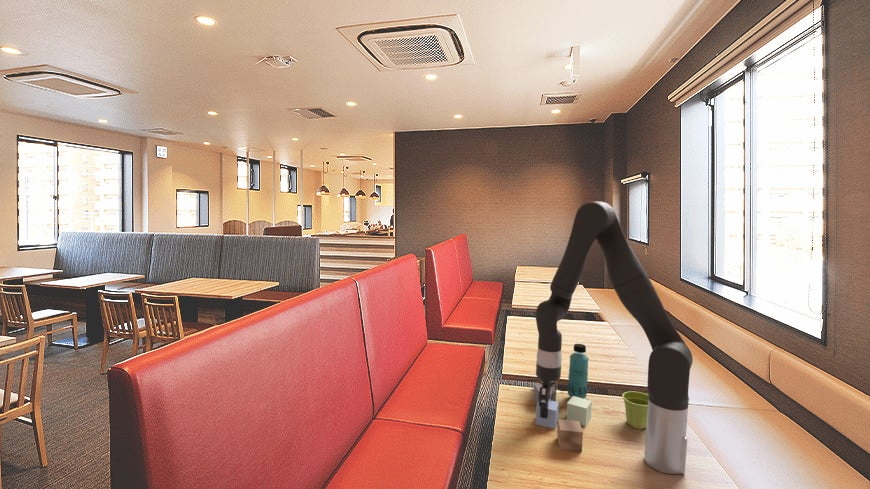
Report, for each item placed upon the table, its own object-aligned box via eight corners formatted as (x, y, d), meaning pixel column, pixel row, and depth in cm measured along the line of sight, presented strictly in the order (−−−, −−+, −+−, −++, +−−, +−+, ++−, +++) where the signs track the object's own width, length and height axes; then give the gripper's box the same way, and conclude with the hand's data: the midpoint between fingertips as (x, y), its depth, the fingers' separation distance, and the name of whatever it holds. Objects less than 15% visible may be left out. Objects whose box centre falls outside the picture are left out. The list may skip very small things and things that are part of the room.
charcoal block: (550, 399, 147) (551, 383, 146) (555, 408, 141) (556, 391, 140) (533, 399, 147) (534, 383, 146) (537, 407, 141) (538, 391, 140)
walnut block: (578, 440, 122) (579, 421, 121) (581, 452, 116) (582, 432, 115) (557, 438, 123) (557, 419, 122) (559, 450, 117) (560, 430, 116)
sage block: (590, 418, 134) (591, 401, 133) (585, 426, 129) (586, 408, 129) (572, 413, 138) (572, 395, 137) (566, 420, 133) (567, 403, 132)
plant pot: (653, 435, 124) (655, 408, 124) (619, 427, 129) (621, 400, 128) (654, 421, 133) (655, 395, 132) (621, 414, 137) (623, 388, 136)
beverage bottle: (565, 394, 150) (568, 341, 148) (584, 395, 150) (587, 342, 148) (569, 403, 144) (571, 347, 142) (588, 404, 143) (591, 348, 141)
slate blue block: (558, 419, 133) (558, 402, 133) (555, 429, 128) (555, 410, 127) (539, 415, 136) (539, 398, 135) (535, 424, 130) (536, 406, 130)
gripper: (557, 373, 122) (554, 425, 124) (564, 356, 135) (561, 404, 136) (532, 368, 125) (529, 419, 127) (540, 352, 138) (538, 399, 140)
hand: (546, 411), depth 132 cm, fingers open, 8 cm apart
